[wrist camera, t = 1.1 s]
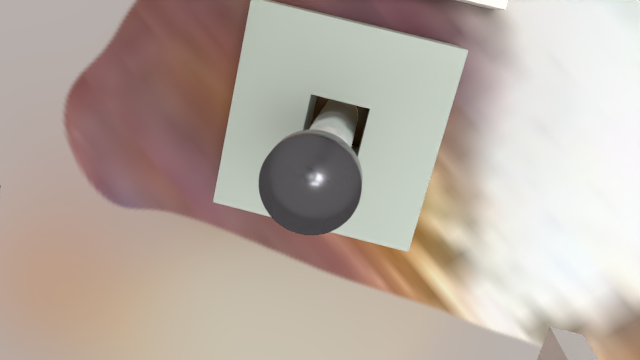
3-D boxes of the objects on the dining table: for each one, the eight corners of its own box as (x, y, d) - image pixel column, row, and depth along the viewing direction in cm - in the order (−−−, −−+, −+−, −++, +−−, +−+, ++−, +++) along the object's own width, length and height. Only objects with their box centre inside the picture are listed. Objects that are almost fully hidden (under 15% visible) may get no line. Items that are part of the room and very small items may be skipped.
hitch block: (268, -1, 37) (251, -3, 32) (457, 45, 36) (468, 50, 32) (233, 179, 40) (213, 202, 35) (405, 223, 40) (408, 252, 35)
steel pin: (316, 78, 38) (269, 123, 22) (377, 93, 38) (372, 150, 22) (303, 137, 39) (249, 220, 23) (362, 152, 39) (347, 246, 23)
